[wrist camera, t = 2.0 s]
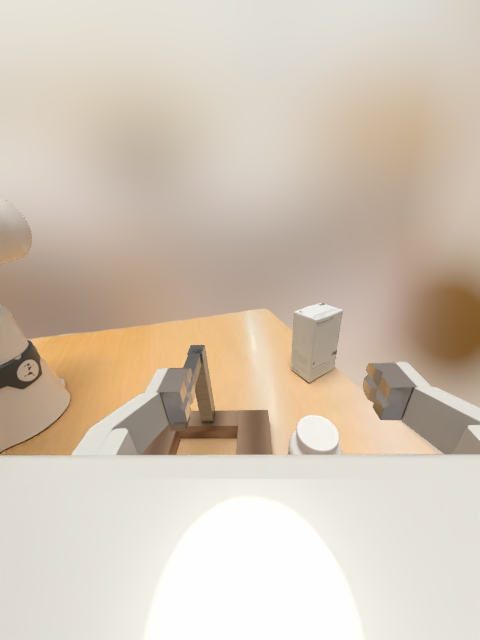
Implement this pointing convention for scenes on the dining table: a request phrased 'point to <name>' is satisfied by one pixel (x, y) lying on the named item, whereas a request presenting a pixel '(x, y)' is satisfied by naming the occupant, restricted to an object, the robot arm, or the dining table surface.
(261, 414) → the cutout shelf
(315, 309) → the skincare box
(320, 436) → the pill bottle
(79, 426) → the dining table surface
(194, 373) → the hook arm
